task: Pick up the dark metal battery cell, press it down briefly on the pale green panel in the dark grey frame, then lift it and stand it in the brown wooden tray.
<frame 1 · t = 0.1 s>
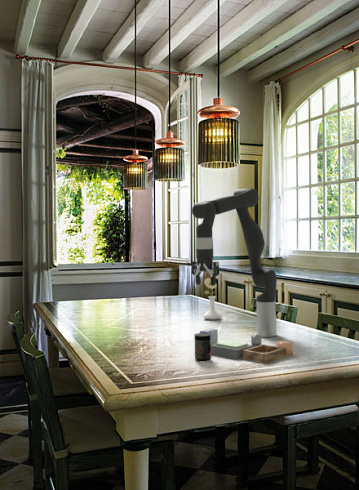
hand: (205, 285, 221), 29 cm above the table, tool pointing down, fingers open, 8 cm apart
peach dome knob: (284, 354, 213), on the table
pale green panel: (231, 344, 215), point 4 cm above the table, slide at 0.0 cm
brown wooden tray: (264, 357, 208), on the table
supplement container: (203, 360, 207), on the table
cell: (256, 350, 221), on the table
checker base: (232, 354, 216), on the table
medicine box: (209, 349, 226), on the table
flower in vase: (211, 319, 307), on the table
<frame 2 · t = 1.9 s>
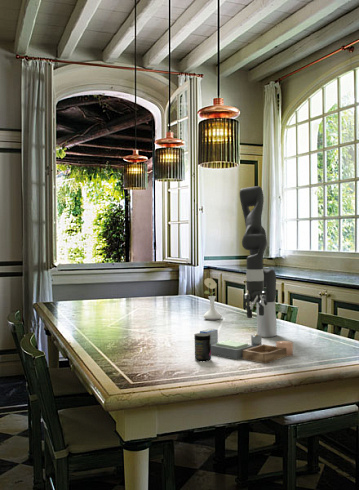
hand: (255, 316, 221), 15 cm above the table, tool pointing down, fingers open, 8 cm apart
nothing on the table moved.
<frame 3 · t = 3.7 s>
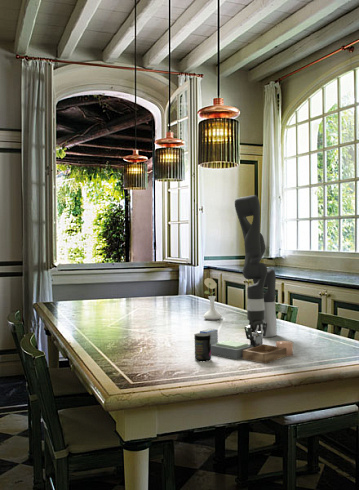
hand: (256, 347, 221), 1 cm above the table, tool pointing down, fingers closed on cell, 4 cm apart
cell: (256, 350, 221), on the table, touching gripper
everything else where it was.
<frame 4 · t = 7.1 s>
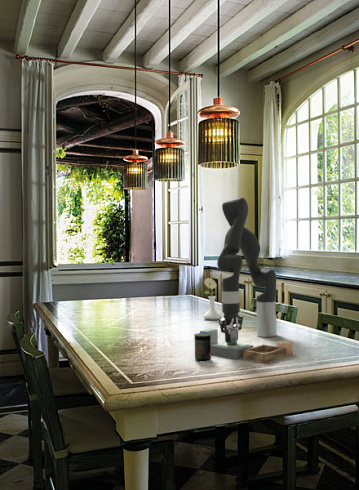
hand: (231, 341, 215), 6 cm above the table, tool pointing down, fingers closed on cell, 4 cm apart
pale green panel: (231, 345, 215), point 4 cm above the table, slide at -0.5 cm, touching cell
cell: (231, 344, 215), point 4 cm above the table, touching pale green panel, gripper
everything else where it was.
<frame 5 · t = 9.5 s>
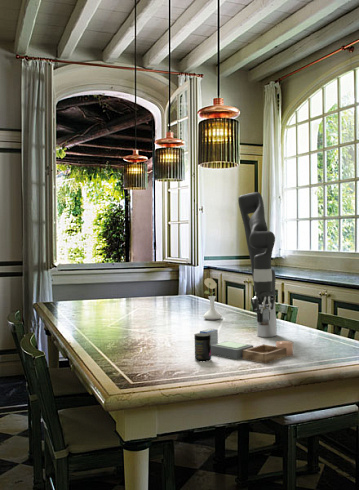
hand: (263, 321, 208), 15 cm above the table, tool pointing down, fingers closed on cell, 4 cm apart
pale green panel: (231, 346, 215), point 4 cm above the table, slide at -0.6 cm
cell: (263, 324, 208), point 14 cm above the table, touching gripper
everything else where it was.
when the fingers open (3 cm above the table, at t = 11.6 s): cell stays where it is, resting on brown wooden tray.
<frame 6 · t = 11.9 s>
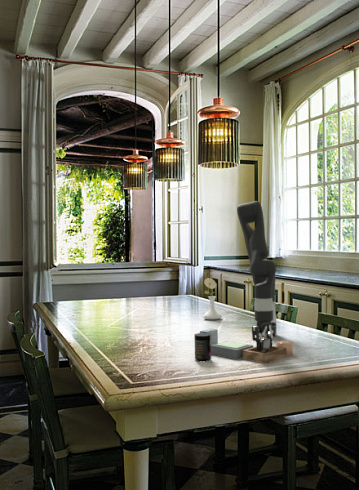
hand: (264, 349, 208), 3 cm above the table, tool pointing down, fingers open, 6 cm apart
cell: (264, 355, 209), point 1 cm above the table, touching brown wooden tray
everything else where it was.
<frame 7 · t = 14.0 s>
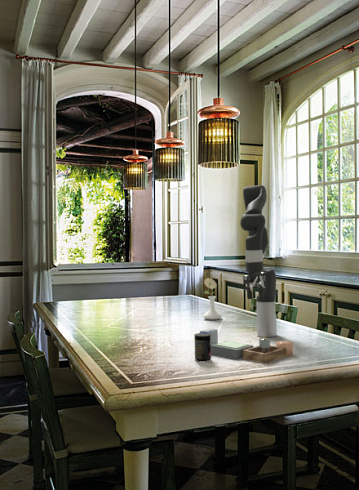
hand: (255, 297, 220), 23 cm above the table, tool pointing down, fingers open, 8 cm apart
nothing on the table moved.
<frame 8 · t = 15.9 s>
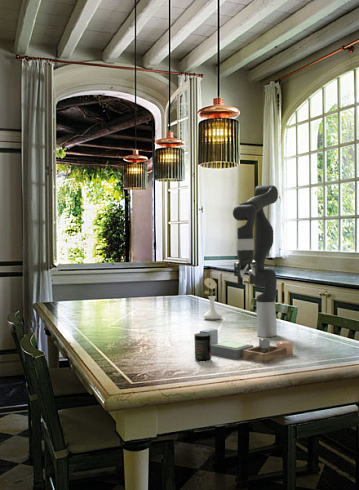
hand: (246, 284, 229), 28 cm above the table, tool pointing down, fingers open, 8 cm apart
nothing on the table moved.
at the end: cell inside the target area on the brown wooden tray (0.1 cm from its centre), point 1.1 cm above the brown wooden tray's base; cell tilted 2°; the gripper is holding nothing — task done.
